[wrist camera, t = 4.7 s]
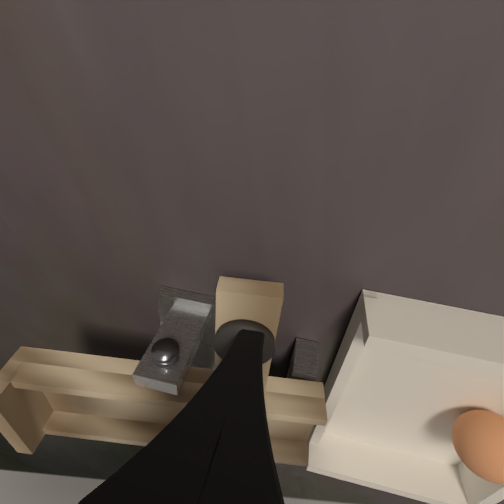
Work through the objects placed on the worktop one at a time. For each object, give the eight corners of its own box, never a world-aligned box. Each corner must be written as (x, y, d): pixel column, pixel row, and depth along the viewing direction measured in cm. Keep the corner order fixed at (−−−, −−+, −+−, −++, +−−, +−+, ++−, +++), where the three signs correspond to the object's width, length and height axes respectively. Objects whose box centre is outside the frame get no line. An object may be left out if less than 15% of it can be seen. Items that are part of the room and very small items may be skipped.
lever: (51, 399, 18) (17, 452, 16) (-36, 246, 12) (-114, 297, 9) (304, 430, 18) (307, 488, 15) (357, 291, 11) (377, 356, 9)
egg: (445, 477, 16) (517, 506, 15) (478, 450, 14) (561, 481, 13) (437, 418, 18) (498, 440, 17) (463, 388, 16) (533, 411, 15)
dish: (308, 426, 22) (306, 470, 20) (362, 289, 14) (369, 335, 12) (460, 464, 21) (476, 515, 19) (609, 337, 13) (669, 399, 11)
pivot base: (171, 373, 22) (136, 449, 18) (160, 285, 17) (108, 361, 13) (297, 404, 21) (290, 492, 17) (325, 319, 16) (324, 414, 12)
